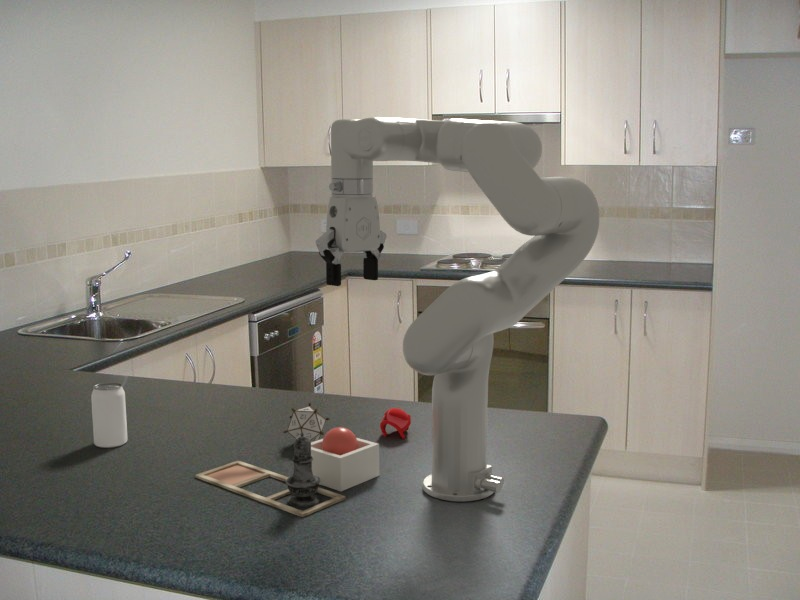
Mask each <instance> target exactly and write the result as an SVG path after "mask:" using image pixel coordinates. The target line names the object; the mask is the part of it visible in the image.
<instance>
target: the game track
mask: <svg viewBox="0 0 800 600" xmlns="http://www.w3.org/2000/svg"><path fill="white" fill-rule="evenodd" d="M269 477H270V478H273V479H276V480H279V481H283V482H284V483H286V480H287V478H289V477H290V476H285V475H283V474H280V473H277V472H274V471H271V470H268V469H265V468H262V467H259V466H255V465H253V464H250V463H247V462H244V461H242V460H235V461H232V462H229V463H227V464H224V465H221V466H217V467H215V468H211V469H208V470H205V471H202V472H200V473H197V474H195V475H194V478H195V479H199V480H201V481H202V482H203V481H204V482H206V483H208V484H212V485H214V486H217V487H220V488H223V489H225V490H228V491H231V492H233V493H236V494H239V495H242V496H244V497H247V498H250V499H252V500H255V501H257V502H260V503H263V504H266V505H269V506H271V507H273V508H275V509H279V510H281V511H284V512H287V513H290V514H292V515H295V516H298V517H300V518H305V517H306V516H307V517H308V516H310V515H312V514H313V513H315V512H316V513H317V512H319V511H321V510H323V509H325V508H328V507H330V506H333V505H334V504H335V505H336V504H338V503H340V502H343V501H344V500H346V499H347V498H346V495H343V494H339V493H336V492H333V491H331V490H327V489H324V488H322V487H320V486H319V487H318V490H317V491H316V492H315V493H317V494H321V495H323V496H326V497H329V498H331V499H329V500H325V501H323V502H321V503H317V504H315V505H312V506H310V507H309V508H307V509H304V510H301V509H298V508H295V507H294V506H291V505H290V506H289V505H287V504H285V503H282V502H279V501H276V500H278V499H280V498H283V497H285V496H288V495H292V494H291V493H290V491H289V489H288V488H287V489H284V490H282V491H279V492H277V493H274V494H271V495H269V496H266V497H265V496H262V495H259V494H257V493H254V492H252V491H249V490H246V489H243V487H245V486H247V485H250V484H254V483H256V482H259V481H261V480H264V479H266V478H269Z"/></svg>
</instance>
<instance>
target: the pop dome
mask: <svg viewBox="0 0 800 600" xmlns="http://www.w3.org/2000/svg"><path fill="white" fill-rule="evenodd" d="M356 438H357V437H356V435H355V434H354V432H353V431H351V430H350V429H348V428H346V427H343V426H338V427H333V428H331V429H329V430H328V431H327V432H326V433H325V434H324V435H323V438H322V439H323V441H322V449H323V451H327V452H330V453H333V454H337V455H340V456H341V455H343V454H346V453H349V452H351V451H354V450H357V447H358V443H357V439H356Z"/></svg>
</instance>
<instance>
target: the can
mask: <svg viewBox="0 0 800 600" xmlns="http://www.w3.org/2000/svg"><path fill="white" fill-rule="evenodd" d="M92 389H93V390H92V392H91V394H90V395H91V401H90V402H91V416H92V417H91V419H92V429H93V430H92V432H93V433H92V434H93V444H94V445H95V446H96V448H101V449H113V448H114V449H115V448H119V447H121V446H123V445H125V444H126V443H127V442H128V425H127V423H128V422H127V408H126V392H125V389H124V388H123V384H122V383H121V382H104V383H103V382H102V383H98V384H95V385H93V386H92Z"/></svg>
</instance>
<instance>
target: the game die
mask: <svg viewBox="0 0 800 600" xmlns="http://www.w3.org/2000/svg"><path fill="white" fill-rule="evenodd" d="M311 405H312V403H311V402H309V403H308V406H305V407H302V408H298V409H295V408H294V407H291V411H292V415H290V416H289V418H290V420H289V423H288V426H287V429H286V430H283V432H282V433H283V434H287V433H288V434H289V435H290V436H291V437H292V438H294V439H295V440H296V439H297V438H299V437H301V435H300V434H301V433H302V432H303V434H304V437H306V438H308V439H309V440H310V441H311V442H314V441H317V440H320V439H321V436H325V432H323V431H324V430H323V429H324V427H325V425H326V422H327V421H329V420H331V419H330V417H324V416H323V415H322V414H320V413H319V412H318V408H315V409H314V408H313V407H312V406H311Z"/></svg>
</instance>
